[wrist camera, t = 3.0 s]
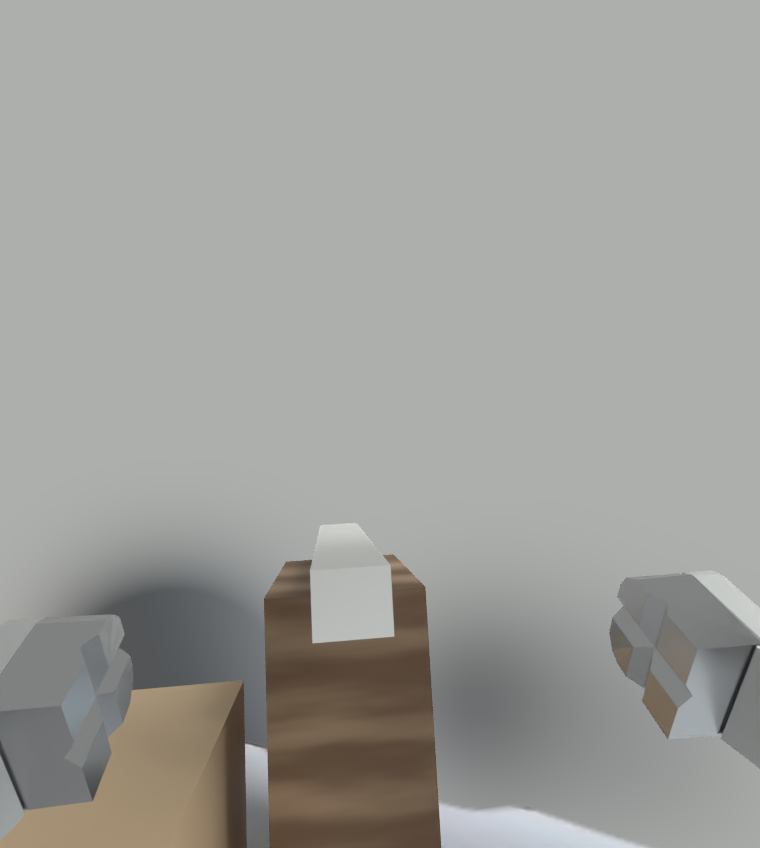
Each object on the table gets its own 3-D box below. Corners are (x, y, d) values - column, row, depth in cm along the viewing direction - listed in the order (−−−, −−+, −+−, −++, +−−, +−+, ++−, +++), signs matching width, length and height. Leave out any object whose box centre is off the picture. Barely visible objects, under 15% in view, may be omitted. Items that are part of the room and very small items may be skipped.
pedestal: (454, 1057, 29) (425, 586, 32) (275, 1088, 28) (264, 598, 31) (409, 856, 45) (393, 554, 48) (294, 871, 44) (286, 561, 47)
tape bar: (394, 636, 22) (390, 565, 22) (312, 643, 21) (309, 570, 22) (357, 554, 49) (356, 523, 50) (321, 556, 49) (320, 525, 49)
